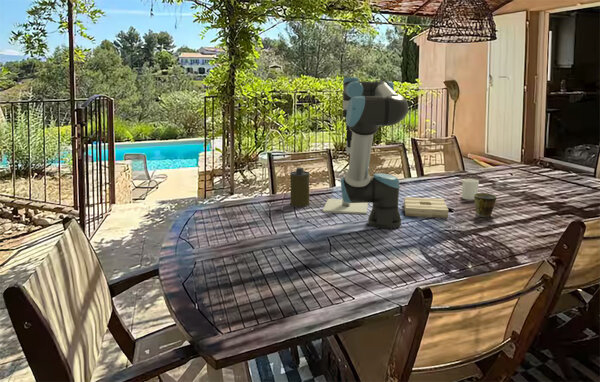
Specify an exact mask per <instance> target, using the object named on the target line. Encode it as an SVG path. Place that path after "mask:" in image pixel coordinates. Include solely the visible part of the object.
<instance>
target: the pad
mask: <svg viewBox="0 0 600 382" xmlns="http://www.w3.org/2000/svg"><path fill="white" fill-rule="evenodd" d="M368 207H369V203H351V206H348V207H345V206H342V198H328V199H327V200H326V203H325V204H324V206H323V209H322V213H332V214H334V213H335V214H352V215H367V214H368Z"/></svg>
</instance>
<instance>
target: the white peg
mask: <svg viewBox="0 0 600 382" xmlns="http://www.w3.org/2000/svg"><path fill="white" fill-rule="evenodd" d="M341 199H342V206H345V207H348V206H351V203H346V202H344V201H343V198H342V197H341Z"/></svg>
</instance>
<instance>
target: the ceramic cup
mask: <svg viewBox="0 0 600 382" xmlns="http://www.w3.org/2000/svg"><path fill="white" fill-rule="evenodd" d="M474 199H475V200H474V205H475V207H474V208H475V215H476V216H478V217H480V218H489V217H491V216H492V212H493V210H494V206H495V204H496V201H497V195H495V194H491V193H487V192H480V193H479V192H478V193H477V194H475V195H474Z"/></svg>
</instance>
